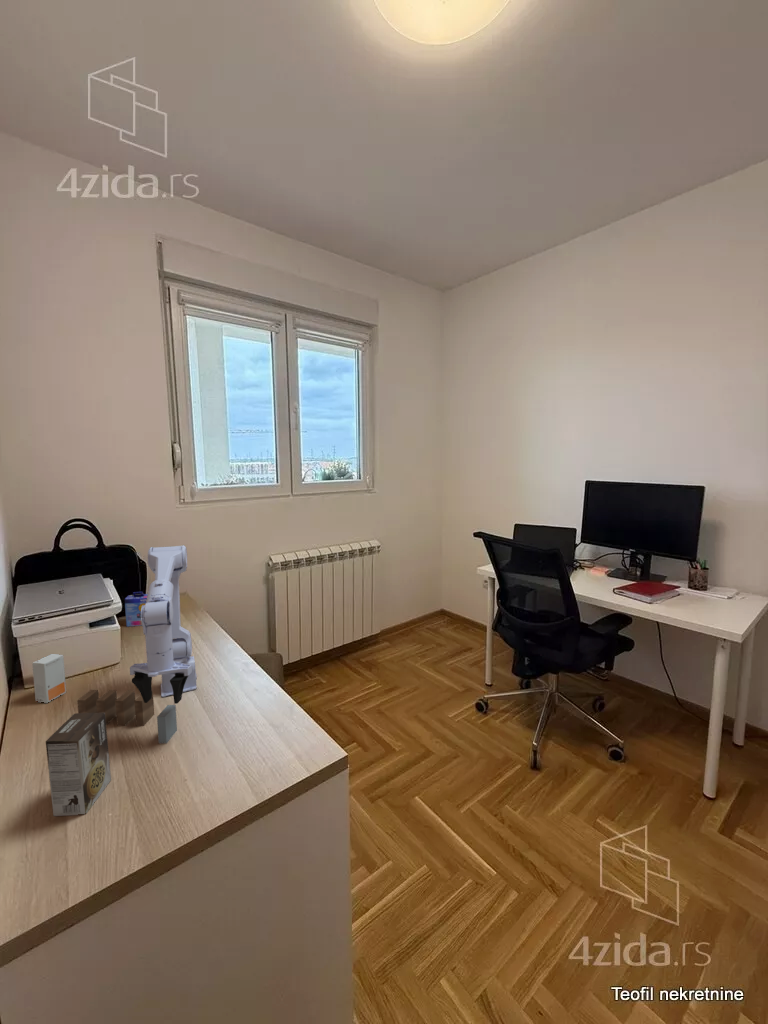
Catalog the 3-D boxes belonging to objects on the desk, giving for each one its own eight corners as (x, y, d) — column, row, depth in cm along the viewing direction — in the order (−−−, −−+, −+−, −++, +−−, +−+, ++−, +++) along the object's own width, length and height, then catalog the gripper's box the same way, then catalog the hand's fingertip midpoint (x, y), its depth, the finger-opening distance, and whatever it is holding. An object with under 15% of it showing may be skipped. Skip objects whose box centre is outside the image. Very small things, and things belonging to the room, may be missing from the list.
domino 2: (98, 725, 109) (96, 700, 108) (110, 713, 114) (109, 689, 113) (105, 725, 109) (103, 700, 108) (118, 714, 114) (116, 690, 113)
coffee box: (81, 781, 90) (74, 712, 88) (112, 780, 91) (106, 710, 89) (51, 817, 81) (43, 741, 79) (86, 815, 82) (79, 739, 80)
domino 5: (158, 743, 102) (157, 716, 101) (169, 730, 107) (167, 704, 106) (166, 743, 102) (165, 716, 101) (177, 730, 107) (175, 704, 106)
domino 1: (79, 725, 109) (77, 700, 108) (92, 713, 114) (90, 689, 113) (86, 725, 109) (84, 700, 108) (100, 713, 114) (98, 689, 113)
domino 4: (136, 725, 109) (134, 700, 108) (147, 714, 114) (145, 690, 113) (143, 726, 109) (142, 700, 108) (154, 714, 114) (152, 690, 113)
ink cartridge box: (125, 627, 173) (123, 593, 171) (130, 622, 178) (128, 589, 176) (151, 625, 175) (149, 591, 173) (155, 620, 180) (153, 588, 179)
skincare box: (47, 704, 118) (43, 664, 117) (35, 702, 119) (31, 662, 118) (67, 692, 124) (63, 654, 123) (55, 690, 125) (52, 653, 124)
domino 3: (117, 725, 109) (115, 700, 108) (129, 714, 114) (127, 690, 113) (124, 725, 109) (122, 700, 108) (136, 714, 114) (134, 690, 113)
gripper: (120, 656, 98) (124, 709, 100) (180, 657, 98) (183, 711, 100) (138, 643, 105) (141, 693, 107) (194, 644, 105) (197, 694, 107)
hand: (162, 701), depth 104 cm, fingers open, 7 cm apart
